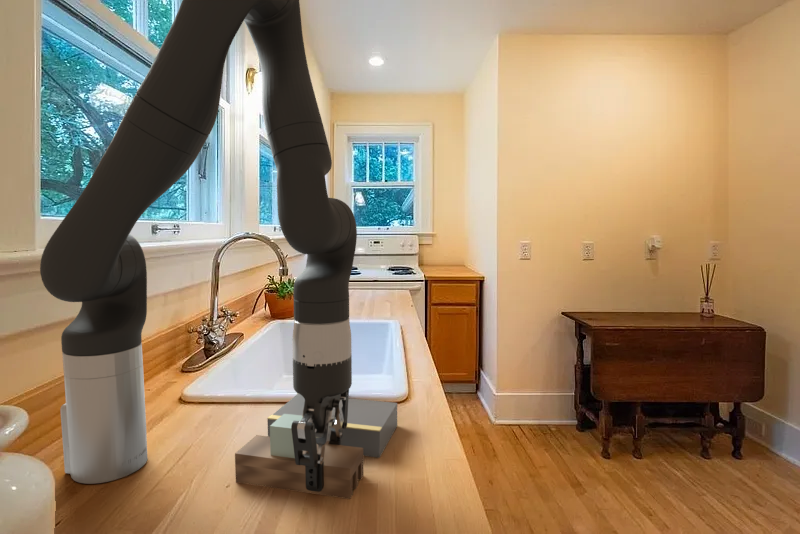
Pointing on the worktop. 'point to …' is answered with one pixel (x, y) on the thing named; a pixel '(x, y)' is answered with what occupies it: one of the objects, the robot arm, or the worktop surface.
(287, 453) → the pale green cube
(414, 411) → the worktop surface
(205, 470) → the worktop surface
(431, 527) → the worktop surface
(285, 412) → the dock
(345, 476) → the board
